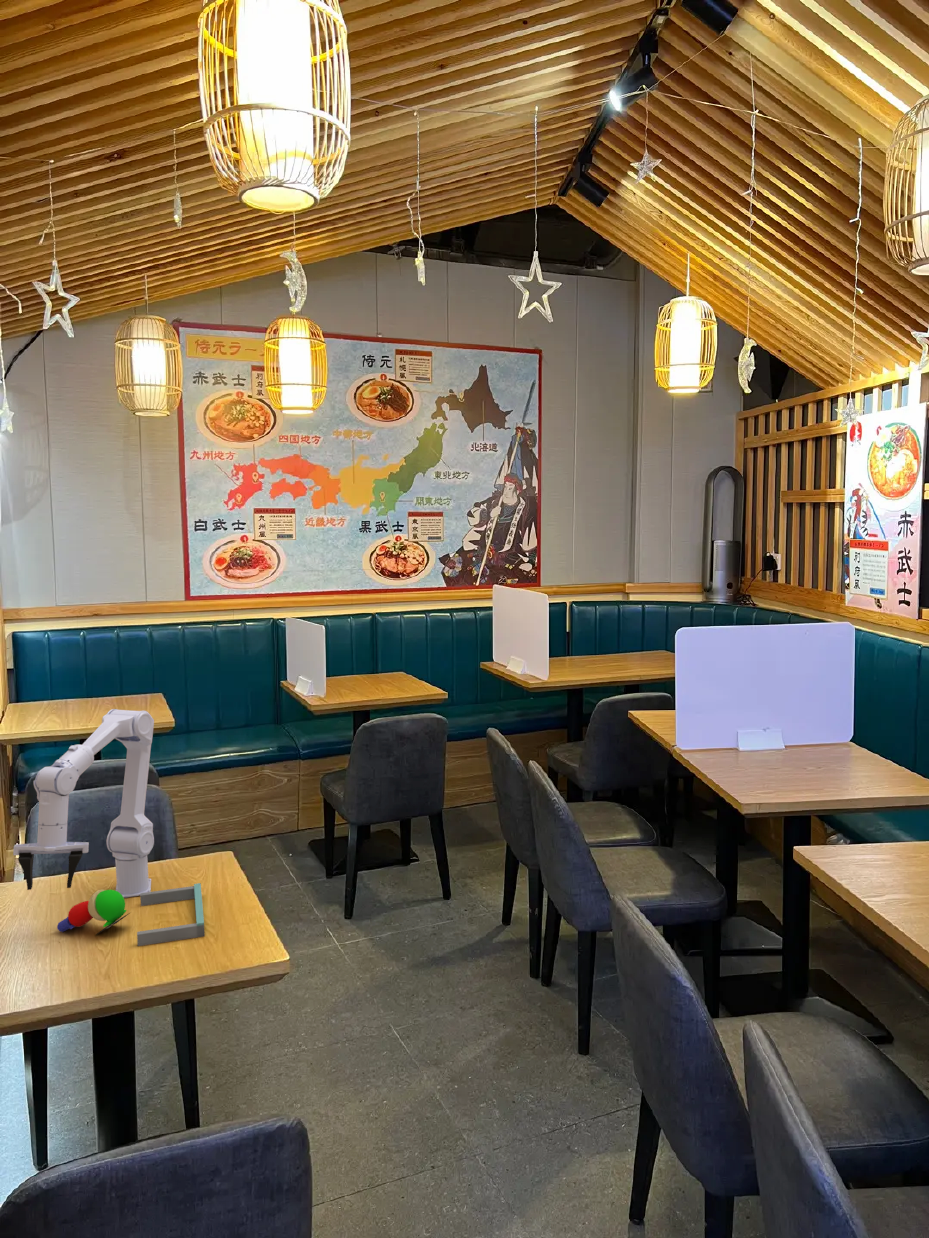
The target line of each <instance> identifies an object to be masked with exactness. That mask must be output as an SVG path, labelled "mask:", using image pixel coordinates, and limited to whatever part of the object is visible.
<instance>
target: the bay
mask: <svg viewBox="0 0 929 1238" xmlns="http://www.w3.org/2000/svg"><path fill="white" fill-rule="evenodd" d="M139 898H140V907H143V906H151V905H152V906H153V905H159V904H166V903H172V902H173V903H174V902H179V901H180V902H181V901H187V900H194V907H195V908H194V909H195V920H196V922H195V923H189V924H182V925H174V926H169V927H167V926H166V927H161V928H160V927H159V928H153V929H148V930H141V931H137V932H136V939H137V941H136V942H137V947H142V946H149V945H157V944H161V943H169V942H175V941H180V940H181V941H182V940H188V939H189V940H190V939H194V938H195V939H196V938H201V937H205V935H206V934H205V920H204V919H205V918H204V916H205V915H204V907H203V906H204V905H203V895H202V885H201V883H199V882H198V883H194V884H193V885H191V886H183V887H175V888H169V889H168V888H167V889H164V890H163V889H162V890H154V891H151V892H146V893H140V896H139Z"/></svg>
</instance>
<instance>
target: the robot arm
mask: <svg viewBox="0 0 929 1238" xmlns="http://www.w3.org/2000/svg"><path fill="white" fill-rule="evenodd" d="M154 726H155V720H154V718H153V717H152V715H151V714H150V713H149V712H148V711H147V710H128V709H117V708H112V709H110V710H109V711H108V712H107V713H106V714H105V715H103V716H102V719H101V724H100V725H99V726H98V727H97V728H96V729H95V730H94V732H92V734H91V735H89V737H88V738H87V739H86V740H84V742H83V743H82V744H74V745H72V744H71V745H70V746H69V748H68V750H67V751H66V752H64V753H63V755H61V756H60V757H59V759H56V760H55V761H54V762H53V764H52V765H50V766H44V767H43V768H41V769H40V770H39V771H37V774H36V776H35V779H34V780H33V788H34V790H35V792H36V795H37V796H36V799H37V802H39V803H38V818H37V819H38V820H37V821H38V823H37V840H36V841H37V842H33V843H32V842H31V843H21V844H20V843H19V844H14V846H13V852H12V854H13V855H12V856H18V858H17V860H18V861H17V862H18V864H19V865H20V867H21V869H22V871H23V874H24V877H25V881H26V888H27V890H26V891H31V890H32V888H33V883H34V882H33V869H34V856H35V855H44V854H45V855H46V854H49V855H50V854H69V855H68V874H67V875H68V876H67V882H66V888H67V889H71V888H72V883H73V878H74V874H75V872H76V869H77V867H78V865H79V862H80V860H81V859H82V857H83V855H84V854H87V853H89V846H90V844H89V843H90V842H89V841H88V842H86V841H83V842H82V841H68V840H67V839H68V822H69V821H68V820H69V818H68V817H69V802H70V801H69V799H70V798H69V797H70V793H72V792H73V791H74V790H75V788H76V785H77V781H78V780H79V778H80V776H82V774H83V773H84V772H85V771H87V770H88V769H89V767H90V766H92V765H93V764H94V760H95V755H97V753H98V752H100V751H101V750H103V748H104V747H106V746H107V745H108V744H110V743H111V742H112V741H113V740H116V741H118V742H120V743H121V744H122V745H123V746H124V747H125V748H126V760H125V769H124V778H123V787H122V795H121V797H122V798H121V804H120V805H121V806H120V813H119V815H118V816H117V817H116V818H114V819H113V820H112V821H111V823H110V829H109V831H108V832H107V833H108V834H107V836H106V848H107V850H108V851H109V852H110V853H111V854H112V857H113V858H115V859H114V860H115V874H116V886H115V891H117V892H119V893H120V894H121V895H122V896H123V898H124V899H125V898H132V897H138V896H139V897H140V893H146V892H152V891H151V890H152V889H151V888H152V878H149V863H148V855H149V854H150V853H151V851H152V849H153V847H154V845H155V836H154V832H153V831H154V829H153V828H154V823H153V822H152V821H151V820H150V819H149V818H148V817H147V816H146V815H145V808H146V807H145V806H146V798H147V790H148V788H147V787H148V781H149V780H148V779H149V768H150V760H151V758H150V757H151V749H152V743H153V735H154Z"/></svg>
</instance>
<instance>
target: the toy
mask: <svg viewBox="0 0 929 1238" xmlns="http://www.w3.org/2000/svg"><path fill="white" fill-rule="evenodd" d="M126 912H127V909H126V901H125V898H123V896H122V895H121V894H120V893H119V892H117V891H116V889H115V890H114V889H98V890H96V891H95V892H94V893H93V894H92V895H91V896H90V898H89V900H85V901H82V902H79V903H76V904H75V905H73V906H72V907H71V908H70V909H69V911H68V914H67V917H66V918H64V919H62V920H61V921H59V922H58V924H57V925H56V927H57V930H58V931H59V932H61V933H64V932H66V931H68V930H72V929H73V928H75V927H82V926H84V925H86V924H87V923H89V922H90V921H91V920H93V919H94V920H97V921H101V922H105V921H106V922H105V923H103V926H102V927H103V929H102V930H100V931H99V932H98V933H96V934H95V936H96V935H98V934H100V933H102V932H103V931H105V930H107V929H109V928H111V927H112V926H113V925H116V924H117V923H119V922H120V921H122V920H123V919H124V918H126V917H127V916H128V915H129V914H131V912H129V913H127V914H126ZM125 914H126V915H125Z"/></svg>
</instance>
